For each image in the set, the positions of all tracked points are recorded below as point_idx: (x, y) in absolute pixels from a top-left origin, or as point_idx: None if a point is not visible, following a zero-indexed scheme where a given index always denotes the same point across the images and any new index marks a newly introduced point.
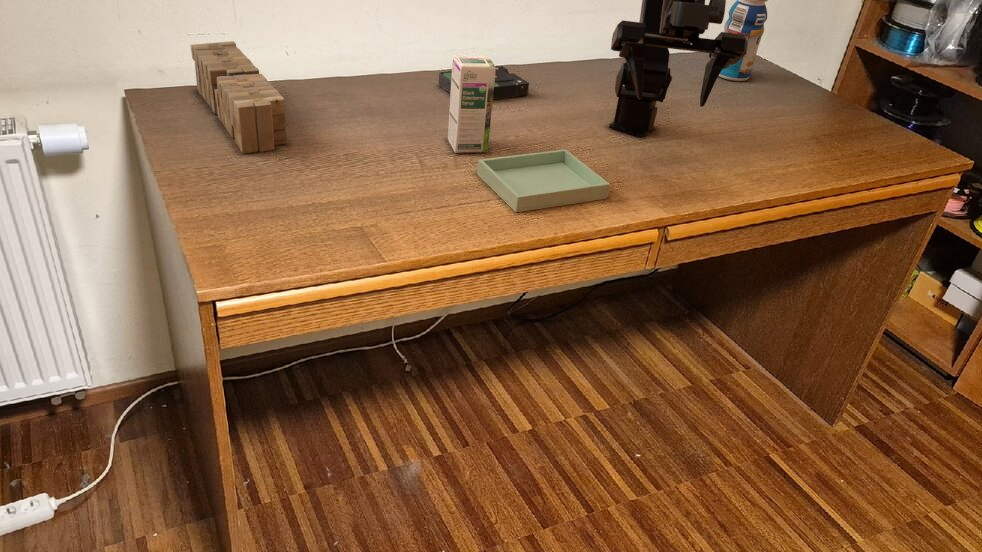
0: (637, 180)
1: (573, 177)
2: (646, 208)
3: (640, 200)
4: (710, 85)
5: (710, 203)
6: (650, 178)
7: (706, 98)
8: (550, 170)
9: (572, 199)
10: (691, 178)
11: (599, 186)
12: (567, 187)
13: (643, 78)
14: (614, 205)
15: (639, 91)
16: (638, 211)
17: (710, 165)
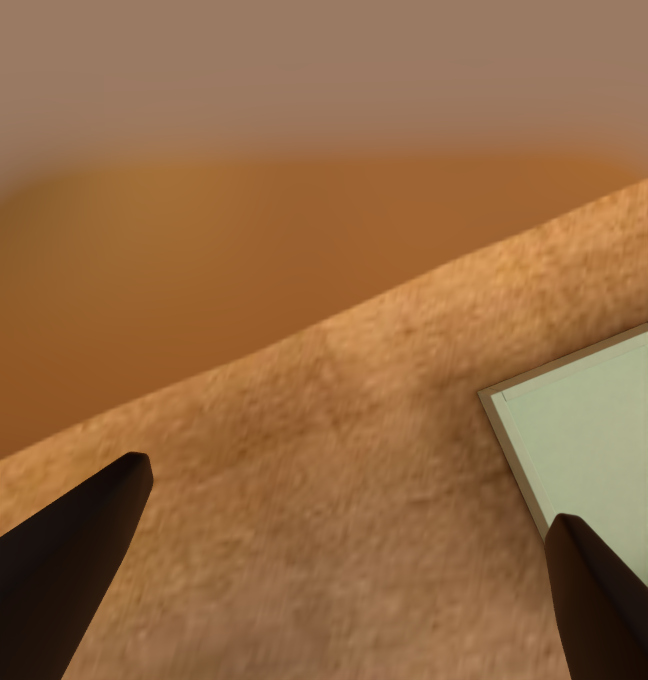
0: (359, 523)
1: (568, 503)
2: (372, 348)
3: (379, 394)
4: (20, 542)
5: (181, 400)
6: (316, 541)
7: (101, 473)
8: (638, 546)
9: (596, 345)
10: (190, 555)
11: (525, 380)
12: (597, 431)
13: (637, 639)
14: (461, 355)
15: (601, 544)
16: (399, 328)
17: (104, 654)
